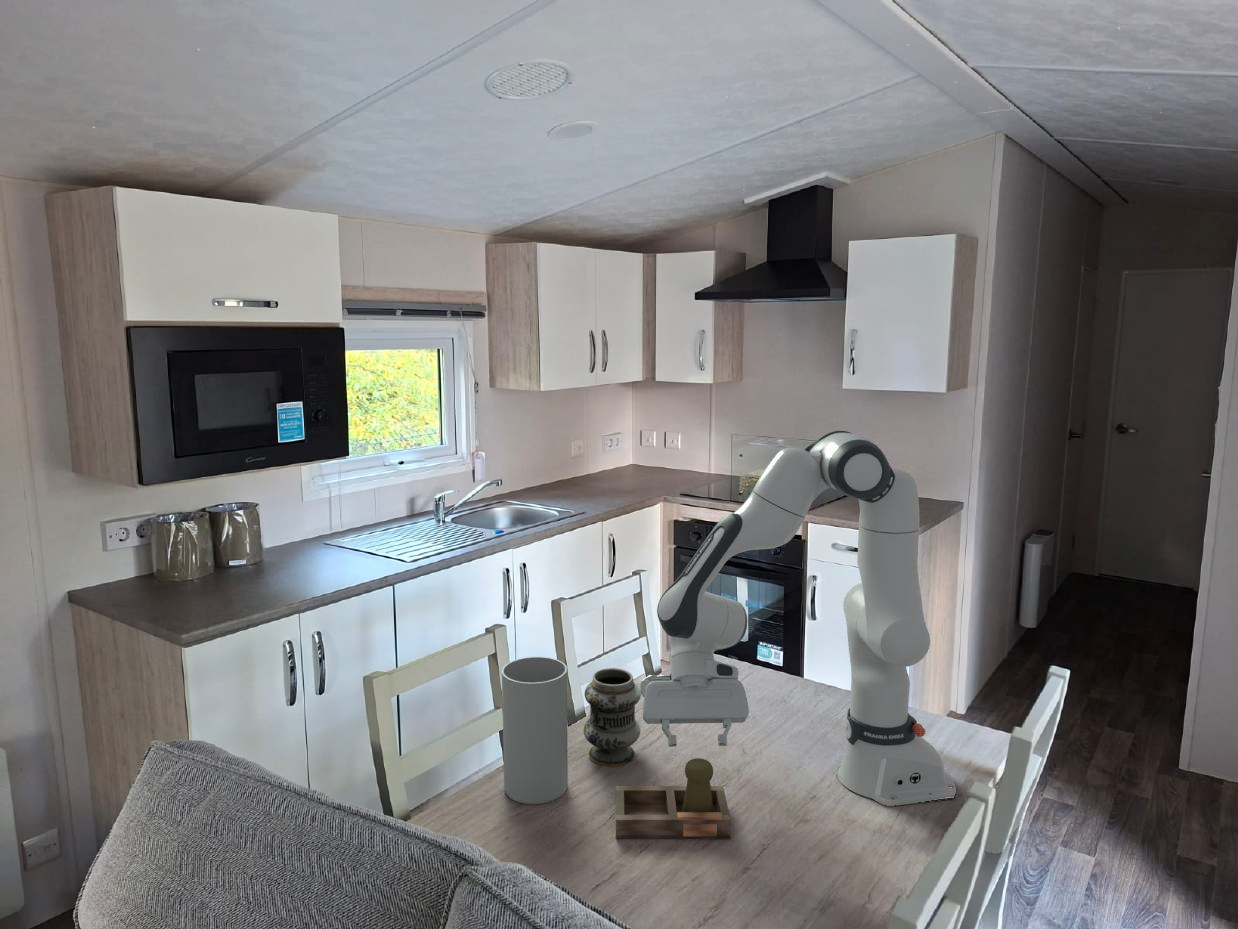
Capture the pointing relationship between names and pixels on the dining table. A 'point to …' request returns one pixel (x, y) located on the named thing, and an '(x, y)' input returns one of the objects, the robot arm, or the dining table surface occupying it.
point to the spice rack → (668, 814)
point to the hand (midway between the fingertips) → (697, 745)
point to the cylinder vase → (535, 729)
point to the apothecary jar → (612, 717)
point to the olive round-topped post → (698, 786)
